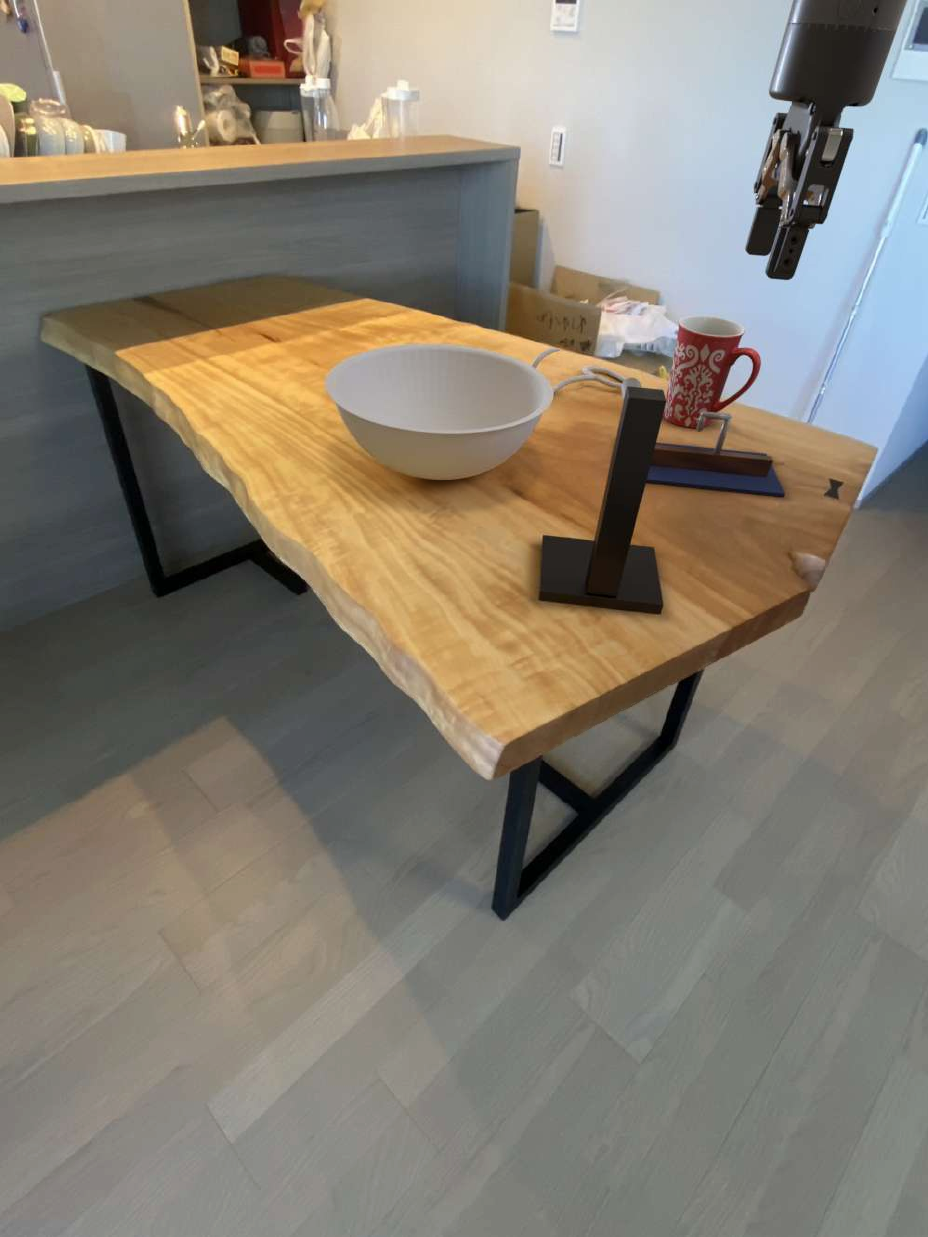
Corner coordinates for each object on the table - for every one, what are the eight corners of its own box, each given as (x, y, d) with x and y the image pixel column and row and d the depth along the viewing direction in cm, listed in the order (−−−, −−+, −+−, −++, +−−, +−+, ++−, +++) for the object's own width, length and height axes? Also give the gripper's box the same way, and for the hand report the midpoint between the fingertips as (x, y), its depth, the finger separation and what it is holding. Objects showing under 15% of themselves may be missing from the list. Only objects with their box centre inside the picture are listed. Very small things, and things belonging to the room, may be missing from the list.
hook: (505, 386, 107) (596, 383, 118) (543, 408, 102) (635, 403, 112) (516, 337, 103) (609, 339, 114) (555, 358, 97) (650, 358, 108)
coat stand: (651, 553, 75) (705, 360, 62) (660, 614, 67) (725, 408, 54) (541, 541, 76) (571, 347, 62) (538, 600, 68) (571, 392, 54)
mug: (644, 415, 103) (666, 322, 94) (675, 400, 108) (699, 310, 99) (720, 446, 97) (751, 348, 88) (750, 428, 102) (782, 334, 93)
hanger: (764, 472, 90) (785, 417, 85) (766, 477, 89) (788, 421, 84) (634, 459, 91) (647, 404, 86) (635, 463, 90) (648, 408, 85)
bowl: (378, 534, 75) (375, 450, 69) (303, 430, 93) (296, 356, 87) (584, 488, 85) (599, 411, 79) (481, 403, 103) (486, 334, 97)
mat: (765, 456, 95) (766, 453, 94) (784, 497, 86) (785, 493, 86) (619, 441, 96) (620, 438, 96) (624, 480, 88) (624, 476, 87)
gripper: (935, 22, 44) (834, 292, 55) (863, 26, 55) (790, 250, 65) (816, 14, 45) (738, 283, 55) (768, 19, 55) (710, 243, 66)
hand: (766, 265), depth 60 cm, fingers open, 8 cm apart
